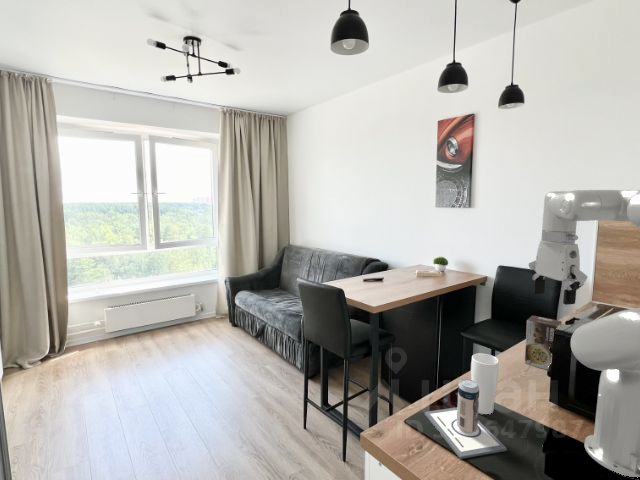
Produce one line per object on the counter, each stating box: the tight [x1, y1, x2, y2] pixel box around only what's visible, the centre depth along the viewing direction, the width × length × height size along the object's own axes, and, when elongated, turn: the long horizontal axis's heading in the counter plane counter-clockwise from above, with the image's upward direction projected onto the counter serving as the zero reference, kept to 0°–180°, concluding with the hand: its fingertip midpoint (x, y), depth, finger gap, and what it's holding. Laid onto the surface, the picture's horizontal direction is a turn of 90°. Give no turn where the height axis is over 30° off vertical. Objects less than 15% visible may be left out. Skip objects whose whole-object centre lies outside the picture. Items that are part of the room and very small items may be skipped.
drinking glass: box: [470, 352, 500, 415], centre depth 94 cm, size 7×7×15 cm
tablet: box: [423, 407, 508, 460], centre depth 87 cm, size 16×12×1 cm
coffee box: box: [524, 314, 562, 371], centre depth 119 cm, size 9×6×16 cm
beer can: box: [457, 378, 479, 433], centre depth 86 cm, size 5×5×12 cm
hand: (553, 298), depth 95 cm, fingers open, 9 cm apart
